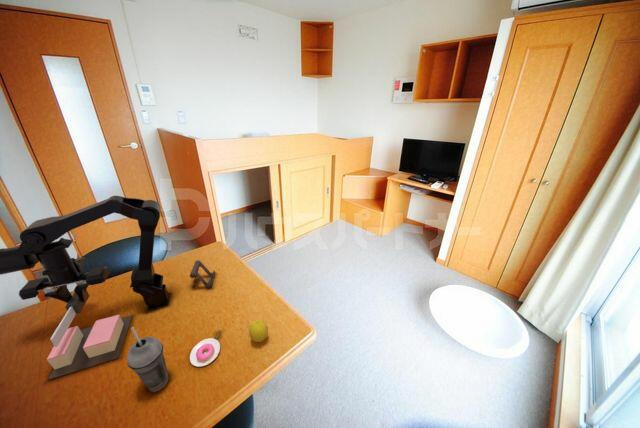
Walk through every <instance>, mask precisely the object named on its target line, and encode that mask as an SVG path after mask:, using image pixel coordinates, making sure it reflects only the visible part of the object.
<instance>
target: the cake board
mask: <svg viewBox="0 0 640 428" xmlns="http://www.w3.org/2000/svg"><path fill="white" fill-rule="evenodd" d="M121 319H122V321H123V323H124V325H123V328H122V331H121V334H120V337H119V340H118V342H117V345H116V348H115V350H114V351H111V352H108V353H104V354H101V355H98V356H94V357H91V358H89V357H88V356H87V354H86V352H85V351H84V349H83V347H84V344H85V342H86V340H87V338H88V336H89V334H90V332H91V330H92V328H93V326H94V325H93V326H88V327H85V328H82V329H81V328H80V331H81V332H82V334H83V338H82V340H81V342H80V345H79V347H78V349H77V352H76V354H75V356H74V359H73V361H72V363H71V364H70V365H67V366H64V367H61V368H58V369H55V370H54V369H53V370H52V372H51V374H50V376H49V378H48V381H52V380H56V379H58V378H61V377H64V376H68V375H71V374H74V373H77V372H80V371H83V370H87V369H91V368H93V367H96V366H100V365H103V364H106V363H110V362H112V361H116V360H119V359H120V357H121V353H122V349H123V346H124V343H125V341H126V337H127V335H128V332H129V329H130V324H131V322H132V319H133V315H130V316H127V317H123V318H122V317H121Z"/></svg>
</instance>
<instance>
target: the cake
mask: <svg viewBox="0 0 640 428" xmlns="http://www.w3.org/2000/svg"><path fill="white" fill-rule="evenodd" d="M123 325H124V323H123V321H122V317H121V315H120V314H116V315H112V316H109V317H105V318H100V319H97V320H95V322H94V324H93V328H92V330H91V332H90V334H89V336H88V338H87V340H86V342H85V344H84V347H83V349H84V351H85V352H86V354H87V356H88V357H89V358H91V357H94V356H98V355H101V354H104V353H108V352H111V351H114V350H115V348H116V345H117V342H118V340H119V337H120V334H121V331H122V328H123Z"/></svg>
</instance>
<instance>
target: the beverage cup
mask: <svg viewBox="0 0 640 428" xmlns="http://www.w3.org/2000/svg"><path fill="white" fill-rule="evenodd" d="M130 329H131V331H132V333H133V335H134V337H135V339H136V341H135V342H134V343H133V344H132V345H130V347H129V349H128V351H127V356H126V362H127V366H128V368H129V369H131V370H132V371H133V372H135V374H136V375H137V377H138V378H139V380H141V382H142V383H143V384H144V386H145V387H146V388H147V389H148V390H149V391H150V392H152V393H155V392H159V391H160V390H162V389H163V388H165V387H166V386H167V384H168V382H169V378H170V377H169V372H168V368H167V363H166V359H165V355H164V345H163V343H162V341H160V340H159V339H158V338H157V337H154V336H144V337H142V338H140V337H139V335H138V333H137V331H136V328H135V327H134V326H132V327H131V328H130Z"/></svg>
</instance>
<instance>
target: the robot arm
mask: <svg viewBox="0 0 640 428" xmlns="http://www.w3.org/2000/svg"><path fill="white" fill-rule="evenodd" d="M161 212H162V206H161V204H160V203H159V202H158V201H156V200H153V199H147V200H146V199H142V198H136V197H135V198H134V197H125V196H121V195H112V196H110V197H108V198H106V199H104V200H101V201H98V202H96V203H93V204H91V205H88V206H85V207H83V208H80V209H78V210H74V211H72V212H69V213H66V214H63V215H59V216H57V215H56V216H50V217H45V218H41V219H37V220H34V221H33V222H32V223H31V224H29V225H28V226H27V227H26V228H24V229H23V230H22V231H21V232H20V234H19V239H20V241H21V243H20V245H18V246H11V247H7V248H5V247H4V248H0V275H1V276H2V275H7V274H12V273H17V272H20V271H25V270H30V269H33V268H35V267H36V264H40V266H41V267H42V269H43V271H42V272H41V274H42V276H43V277H41V278H34V279H30V280H28V281H27V282H26V283H25V285H24V286H23V287H22V288H20V290H18V296H19V298H20V300H23V301H24V300H25V301H26V300H29V299H34V298H36V297H37V296H38V295H39V294H40V292H39V291H42V292H44V295H43V296H44V298H52V299H55V300H58V301H61V302H64V303H66V304H67V303H68V302H69V300H70V299H71V297H72V295H73V294H71V292H70V290H69V288H68V285H71V284H76V285H75V287H74V288H73V292H75V293H76V294H77V296H78V297H79V298H80V300H81V301H83V302H85V301H86V292H88V287H89V286H95V285H99V284H103V283H104V282H106V280H107V278H108V277H109V275H110V273H111V270H110V268H109V267H108V266H106V265H102V266H97V267H92V268H90V270H89V271H88V272H83V271H84V269H83V268H87V263H86V258H85V257H84V256H83V257H77V258H75V257H71V256H70V255H69V252H68V250H67V249H68V248H70V246H71V245H72V244H73V242H74V241H73V240H72V239H68V238H65V237H62V236H64V235H65V234H67V233H69V232H71V231H73V230H75V229H77V228H80V227H82V226H85V225H87V224H89V223H92V222H95V221H97V220H99V219H102V218H105V217H107V216H109V215H112V214H118V215H121V216H124V217H125V218H129V219H131V220H135V221H137V224H138V228H139V231H140V236H139V237H140V238H139V239H140V241H139V253H138V255H139V256H138V266H133V267H132V271H131V275H130V285H129V288H130V289H132V291H133V293H136V294H139V295H140V296H141V297H142V300H143V302H144V304H145V306H146V307H147V308H146V311H153V310H156V309H160V308H163V307H168V306H169V303H170V297H171V292H168V289H167V285H166V284H165V283H164V275H162V274H159V273H156V272H155V267H154V264H153V258H154V247H155V236H156V235H155V234H156V229H157V226H158V224H159V221H160V219H161V218H160V217H161ZM58 239H59V240H58ZM44 276H45V277H44ZM46 276H47V277H46ZM86 302H87V301H86Z"/></svg>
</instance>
